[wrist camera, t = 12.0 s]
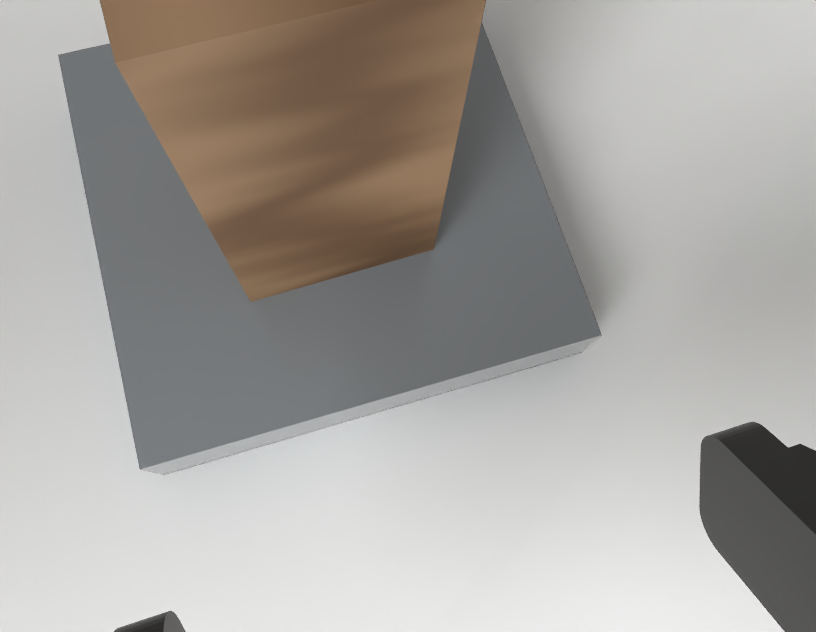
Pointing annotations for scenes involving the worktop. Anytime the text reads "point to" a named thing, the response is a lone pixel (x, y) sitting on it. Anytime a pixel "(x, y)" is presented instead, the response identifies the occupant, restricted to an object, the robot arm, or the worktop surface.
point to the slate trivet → (315, 288)
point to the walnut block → (304, 123)
